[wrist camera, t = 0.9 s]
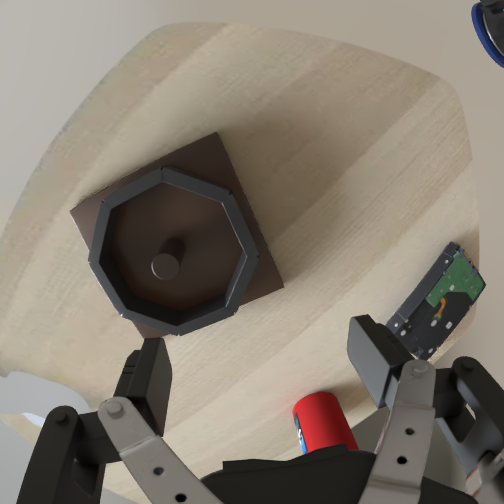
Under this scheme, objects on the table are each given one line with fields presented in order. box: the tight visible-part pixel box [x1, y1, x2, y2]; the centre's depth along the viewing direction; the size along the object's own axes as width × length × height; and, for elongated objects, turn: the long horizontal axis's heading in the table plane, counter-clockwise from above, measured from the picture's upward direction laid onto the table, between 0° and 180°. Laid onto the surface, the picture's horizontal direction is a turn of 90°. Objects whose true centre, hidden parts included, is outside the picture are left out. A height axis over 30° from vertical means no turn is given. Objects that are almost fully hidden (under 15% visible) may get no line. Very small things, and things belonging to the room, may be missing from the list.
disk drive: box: [386, 241, 486, 361], centre depth 34 cm, size 10×3×15 cm
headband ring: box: [88, 166, 260, 336], centre depth 28 cm, size 15×15×3 cm
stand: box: [70, 132, 284, 340], centre depth 27 cm, size 17×17×6 cm
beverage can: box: [293, 392, 359, 454], centre depth 33 cm, size 7×7×12 cm
